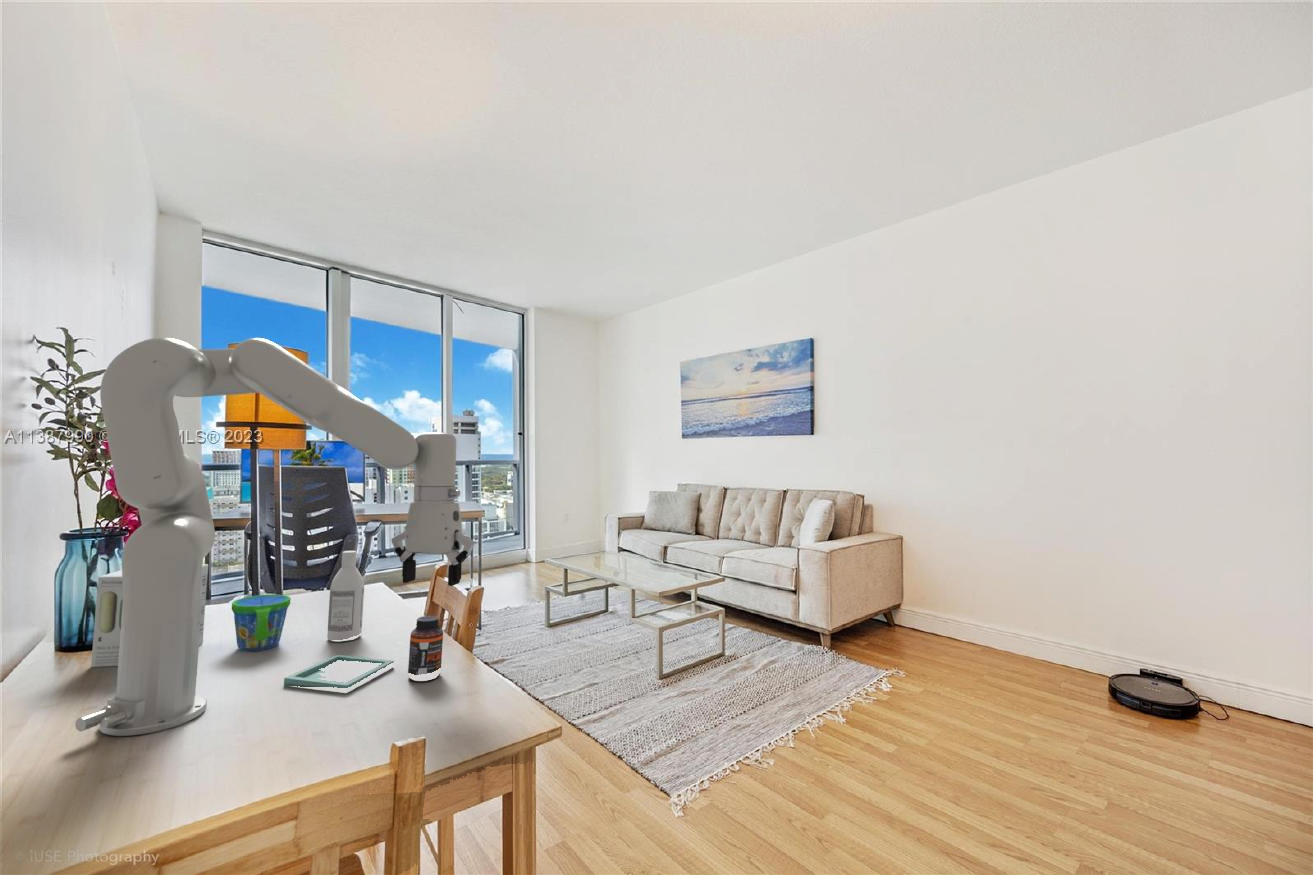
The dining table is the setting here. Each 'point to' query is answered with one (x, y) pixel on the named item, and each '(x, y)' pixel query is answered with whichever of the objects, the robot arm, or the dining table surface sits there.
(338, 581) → the bath foam
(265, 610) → the snack cup
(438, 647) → the supplement bottle
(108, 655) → the supplement box
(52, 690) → the dining table surface
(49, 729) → the dining table surface
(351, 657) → the tray
